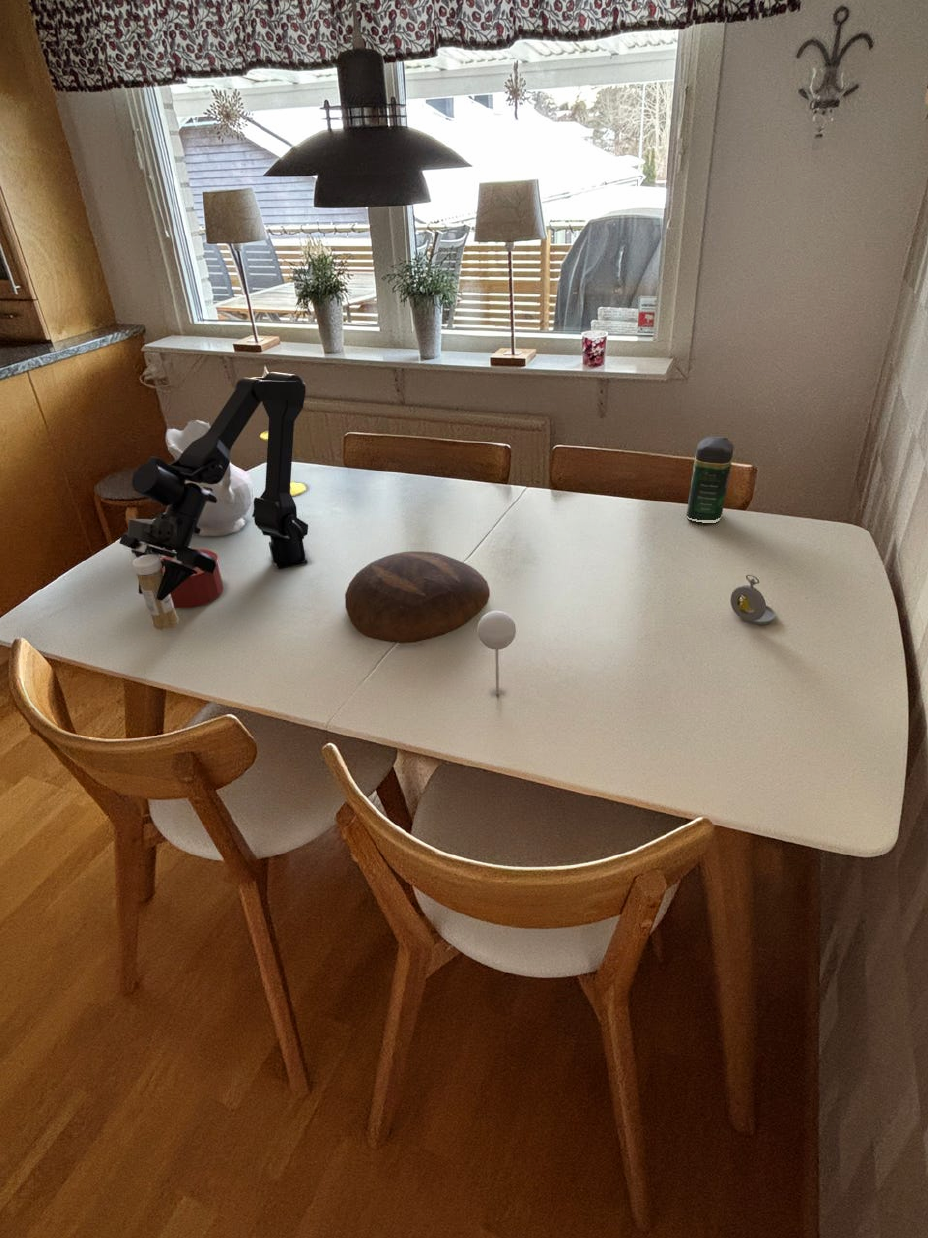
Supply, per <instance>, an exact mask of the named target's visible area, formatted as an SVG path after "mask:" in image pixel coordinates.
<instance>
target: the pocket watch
mask: <svg viewBox="0 0 928 1238" xmlns="http://www.w3.org/2000/svg"><path fill="white" fill-rule="evenodd" d="M749 577H752V578H751V579H749ZM745 578H746V580H747V581H748V582H749V584H742V585H739V586H737V587H736V588H735V589H734V590H733V591H732V593H731V595H730V601H729V602H730V605H731V608H732V611H733V612H734V613H735V614H736V616H737V617H738V618H739V619H740V620H742V621H744V622H747V623H749V624H754V625H769V624H770V623H772V622H774V621H775V619H776V616H777V615H776V611H775V610H774V609H773V608H772V607H770V606H769V605H767V602H766V599H765V596H764V595H763V594H762V592H761V591H760V590H758V589H757V588H756V587H754V586H755V585H758V584H760V580H759V578H758V577H756V576H755V575H753V574H746V575H745ZM755 580H756V581H755Z"/></svg>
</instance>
